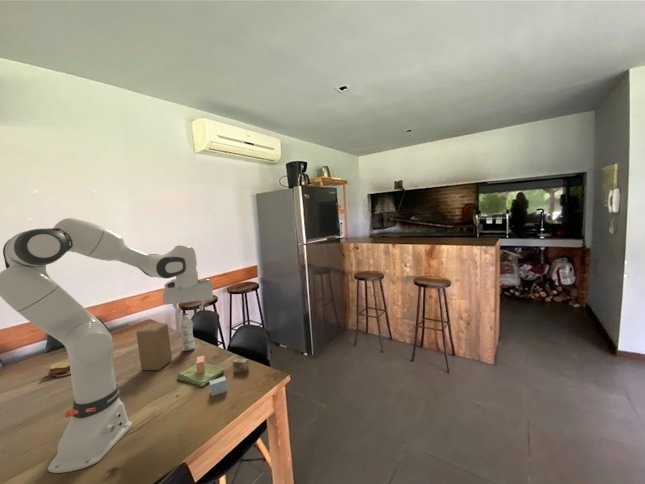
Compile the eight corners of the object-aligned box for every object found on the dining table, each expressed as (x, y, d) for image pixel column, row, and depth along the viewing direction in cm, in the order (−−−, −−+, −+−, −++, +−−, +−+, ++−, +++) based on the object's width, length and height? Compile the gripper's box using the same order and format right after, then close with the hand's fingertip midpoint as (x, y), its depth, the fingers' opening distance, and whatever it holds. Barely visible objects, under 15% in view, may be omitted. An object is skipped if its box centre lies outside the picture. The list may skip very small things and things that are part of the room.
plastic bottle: (182, 348, 153) (178, 314, 151) (195, 345, 156) (191, 311, 154) (181, 354, 148) (177, 318, 146) (195, 350, 150) (191, 315, 148)
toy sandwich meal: (78, 374, 134) (76, 365, 133) (43, 381, 130) (41, 371, 130) (91, 362, 146) (90, 353, 145) (60, 367, 142) (58, 358, 141)
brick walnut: (248, 369, 129) (247, 359, 128) (245, 372, 126) (244, 362, 125) (236, 368, 130) (235, 358, 130) (233, 372, 127) (232, 361, 127)
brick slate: (225, 387, 116) (224, 376, 115) (227, 391, 113) (225, 379, 113) (210, 392, 113) (209, 381, 113) (211, 396, 110) (210, 385, 110)
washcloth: (203, 389, 116) (202, 382, 116) (175, 380, 124) (174, 373, 124) (226, 372, 128) (225, 366, 128) (200, 365, 136) (199, 359, 135)
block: (173, 359, 142) (168, 322, 140) (159, 370, 132) (154, 331, 130) (155, 359, 143) (150, 323, 141) (140, 371, 133) (135, 331, 131)
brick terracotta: (204, 372, 124) (203, 361, 123) (197, 373, 123) (196, 363, 122) (205, 365, 129) (204, 355, 129) (198, 367, 128) (197, 356, 128)
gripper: (213, 277, 129) (215, 306, 130) (164, 282, 124) (167, 311, 125) (211, 280, 123) (213, 310, 124) (160, 285, 118) (163, 316, 119)
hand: (190, 311), depth 124 cm, fingers open, 8 cm apart
